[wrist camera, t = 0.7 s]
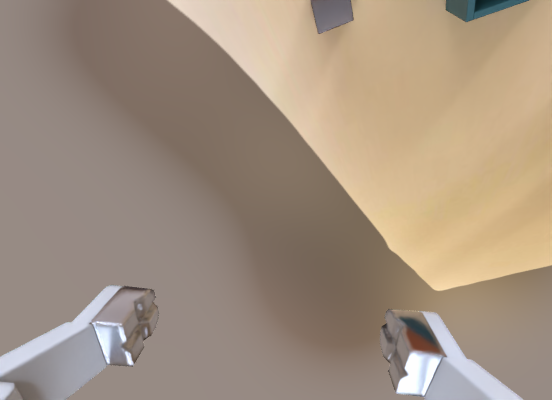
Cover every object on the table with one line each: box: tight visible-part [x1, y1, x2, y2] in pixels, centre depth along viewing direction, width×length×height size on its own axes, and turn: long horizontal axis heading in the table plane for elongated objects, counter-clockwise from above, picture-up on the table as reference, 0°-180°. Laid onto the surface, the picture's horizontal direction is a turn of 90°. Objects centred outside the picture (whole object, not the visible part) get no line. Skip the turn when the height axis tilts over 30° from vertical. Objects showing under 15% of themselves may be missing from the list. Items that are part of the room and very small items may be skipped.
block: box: [311, 0, 354, 34], centre depth 36 cm, size 5×5×5 cm
